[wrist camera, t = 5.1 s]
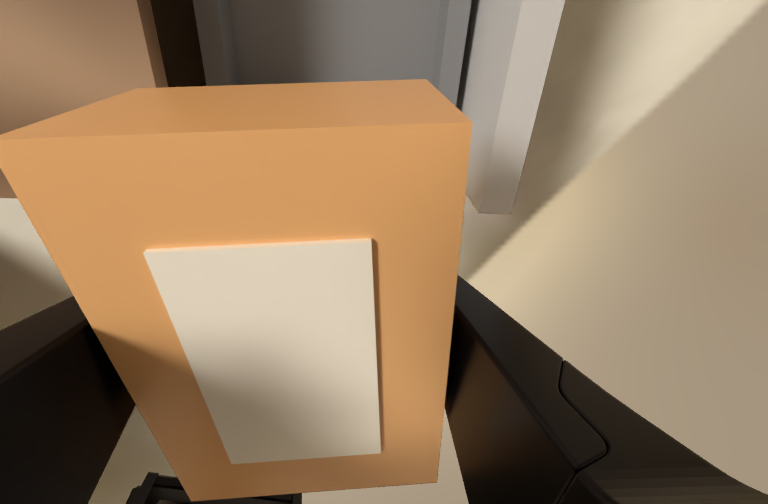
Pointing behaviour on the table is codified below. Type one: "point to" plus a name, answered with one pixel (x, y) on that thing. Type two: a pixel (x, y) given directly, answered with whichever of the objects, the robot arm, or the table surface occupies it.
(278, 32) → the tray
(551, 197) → the table surface
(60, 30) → the box
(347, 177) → the orange rectangular block
